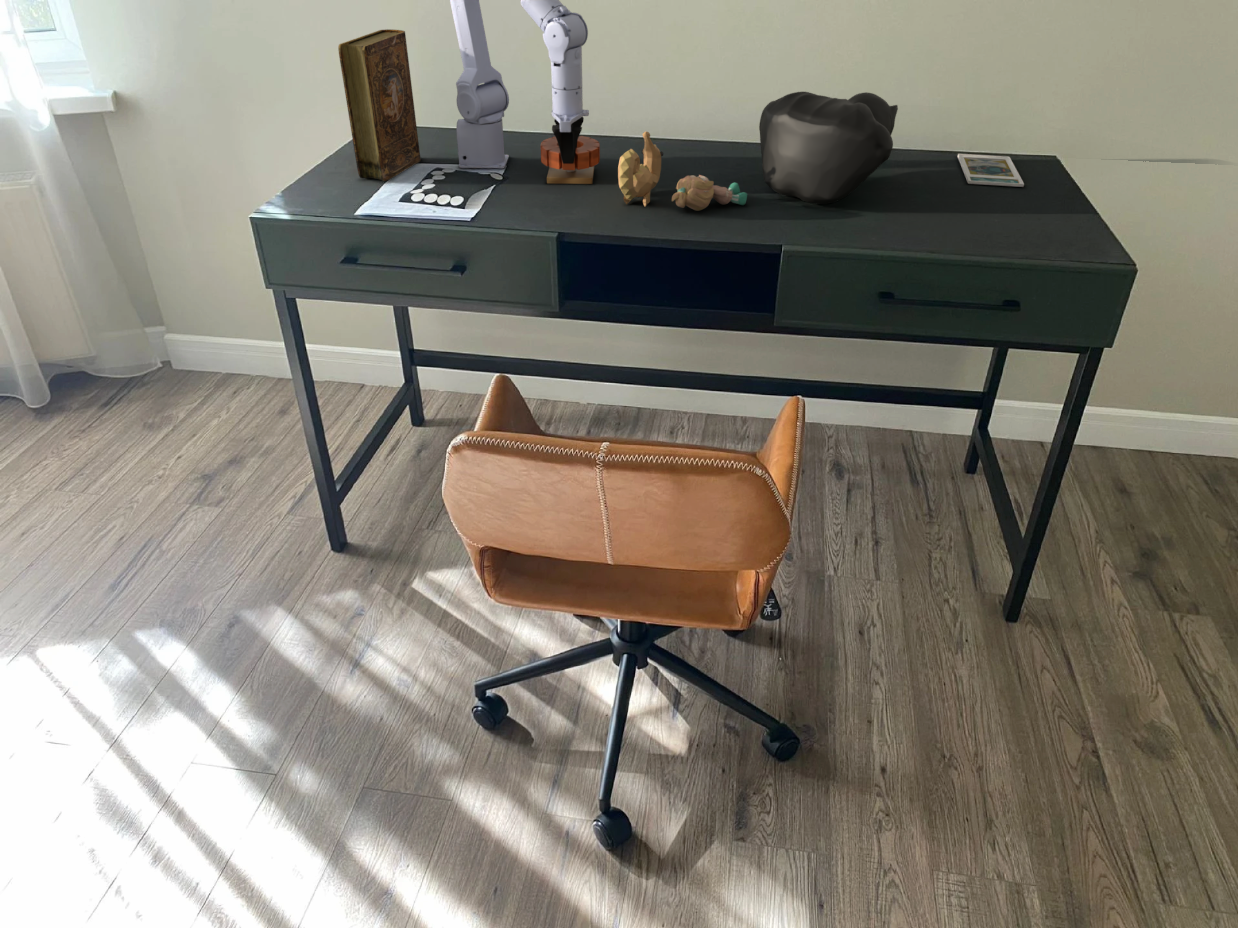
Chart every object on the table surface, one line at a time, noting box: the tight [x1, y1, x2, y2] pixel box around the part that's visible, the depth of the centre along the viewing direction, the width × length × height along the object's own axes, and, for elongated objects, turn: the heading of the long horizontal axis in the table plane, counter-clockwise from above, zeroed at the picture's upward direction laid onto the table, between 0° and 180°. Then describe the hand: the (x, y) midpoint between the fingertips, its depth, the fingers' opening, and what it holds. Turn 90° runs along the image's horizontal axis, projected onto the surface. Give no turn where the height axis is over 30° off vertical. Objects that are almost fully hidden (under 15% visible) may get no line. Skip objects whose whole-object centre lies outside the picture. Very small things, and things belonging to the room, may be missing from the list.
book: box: [337, 28, 421, 182], centre depth 179 cm, size 16×6×25 cm, turn 161°
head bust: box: [758, 91, 899, 205], centre depth 174 cm, size 28×20×30 cm
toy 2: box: [671, 174, 748, 212], centre depth 168 cm, size 8×7×15 cm
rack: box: [546, 166, 595, 185], centre depth 181 cm, size 9×9×6 cm
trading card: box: [957, 153, 1025, 188], centre depth 186 cm, size 11×1×18 cm
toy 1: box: [617, 131, 664, 207], centre depth 168 cm, size 5×12×20 cm
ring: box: [540, 135, 601, 170], centre depth 180 cm, size 12×12×3 cm
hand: (569, 160), depth 177 cm, fingers closed on ring, 3 cm apart
